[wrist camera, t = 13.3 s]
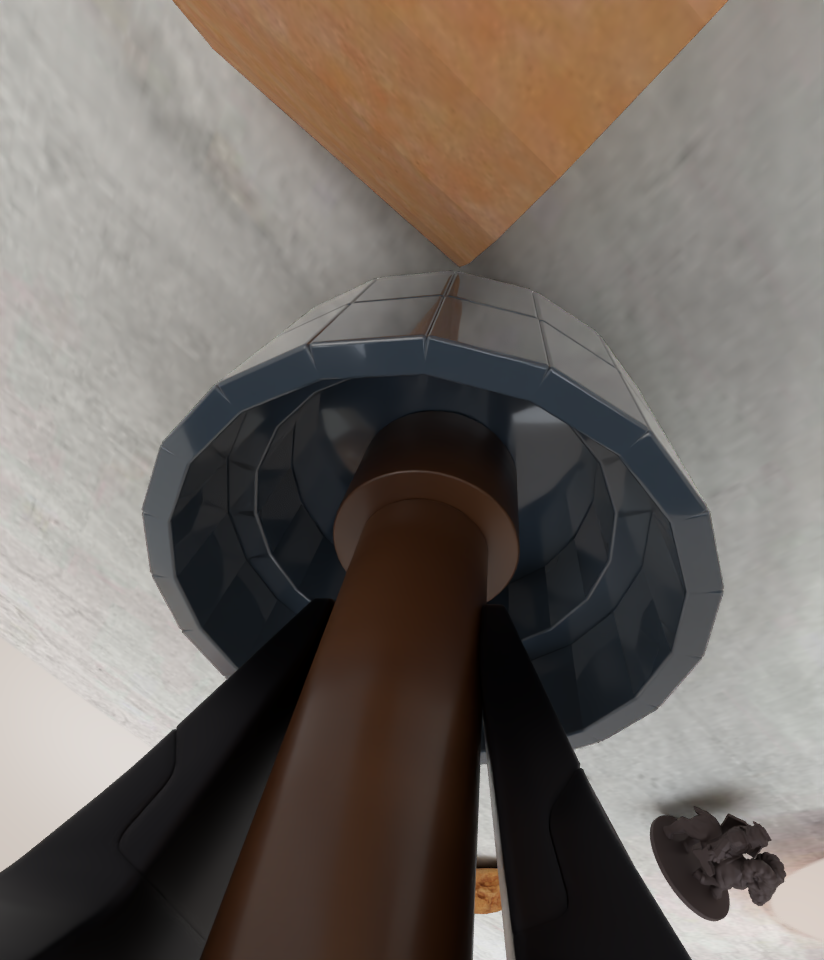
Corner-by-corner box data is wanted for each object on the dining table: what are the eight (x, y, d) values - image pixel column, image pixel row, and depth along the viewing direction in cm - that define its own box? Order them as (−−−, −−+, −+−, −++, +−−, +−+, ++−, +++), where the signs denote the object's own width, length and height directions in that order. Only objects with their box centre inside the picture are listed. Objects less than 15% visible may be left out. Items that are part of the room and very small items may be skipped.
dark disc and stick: (718, 1035, 16) (823, 1002, 15) (582, 779, 22) (644, 732, 20) (786, 977, 19) (879, 943, 17) (650, 764, 25) (710, 722, 23)
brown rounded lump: (386, 842, 30) (408, 865, 33) (377, 890, 28) (401, 909, 31) (512, 865, 27) (523, 887, 30) (510, 918, 26) (522, 935, 29)
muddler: (516, 406, 12) (552, 1091, 3) (517, 541, 15) (539, 1163, 6) (349, 412, 13) (11, 974, 4) (374, 540, 16) (193, 1078, 6)
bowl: (678, 243, 10) (813, 308, 6) (620, 612, 16) (665, 786, 12) (204, 288, 13) (36, 361, 8) (304, 600, 19) (239, 744, 14)
